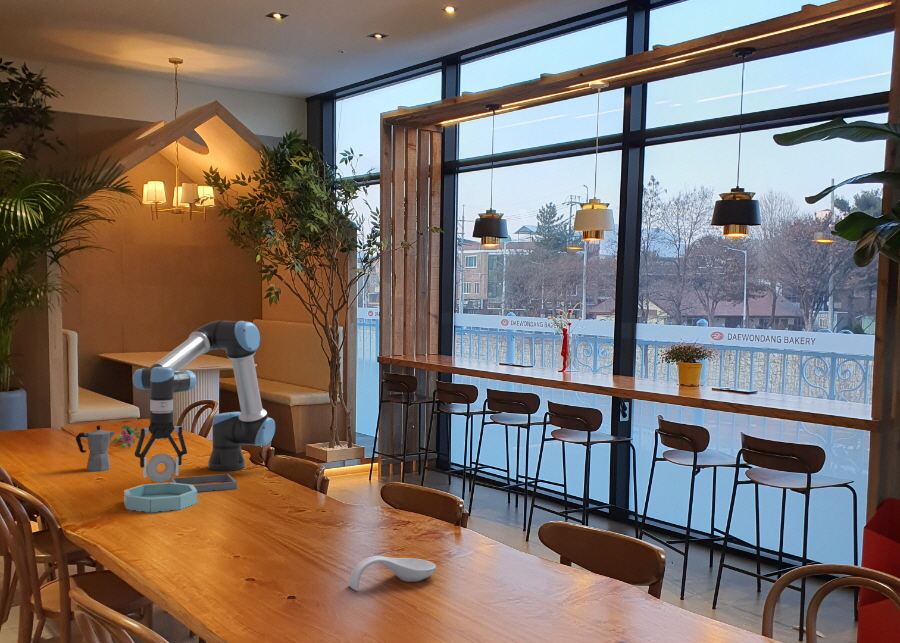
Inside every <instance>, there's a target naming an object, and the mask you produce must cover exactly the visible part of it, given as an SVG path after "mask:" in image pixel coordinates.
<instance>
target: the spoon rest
mask: <svg viewBox="0 0 900 643" xmlns="http://www.w3.org/2000/svg"><path fill="white" fill-rule="evenodd" d="M375 564H382V565H384V566H385V567H387V568H388V569H389V570H390V571H391V572H392V573H393V574H394V575H395V576H397V577H398V578H399V580H401V581H404V582H408V583H411V582H413V583H414V582H420V581H423V580H425V579H427V578H429V577H430V576H431V575H432V574H433V572H434V571H435V570H436V568H437V564H435V563H434V562H432V561H430V560H427V559H421V558H415V557H389V556H388V557H387V556H382V555H373V556H368V557H365V559H363V560H361V561H360V562H359V563H357V565H355V566H354V568H353V569H352V571H351V573H350V576H349V577H348V586H349V587H350V588H351V589H353V590H354V591H356V592H358V591H359V589H360V580H361V576H362V574H363V572H364V571H365V570H366V569H367V568H368V567H371V566H372V565H375Z"/></svg>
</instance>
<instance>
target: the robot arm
mask: <svg viewBox="0 0 900 643" xmlns="http://www.w3.org/2000/svg"><path fill="white" fill-rule="evenodd" d="M259 331H260V330H259V329H258V328H257V325H255V324H254V323H253V322H251V321H246V320H245V321H244V320H221V319H220V320H215V321H211V322H209V323H206V324H204V325H202V326H200V327H198V328H196V329H195V330H194V331H192V332H191V333H190V334H189V336H188V338H187V339H186V340H184V341H183V342H182V343H181V344H179V345H178V346H177V347H175V348H173V349H172V350H171V351H169V353H167V354H166V355H164V356H163V357H161V358H160V359H158V361H156V362H154V363H153V364H152V365H151V366H149V367H148V368H145V367H142V368H138V369H136V370H135V371H134V373H133V374H132V384H133V385H134V387H135V388H136V389H139V390H144V391H150V398H149V399H150V400H149V401H150V403H149V405H150V406H149V410H150V411H151V412H150V414H149V426H148V427H140V429H139V432H140V433H139V434H140V435H139V436H140V437H139V438H138V441H137V444H136V447H135V451H134V454H133V455H134V456H135V458H138V459H139V466H140V468H142V469H143V470H142V476H143V478H144V479H145V478H146V479H147V471H146V469H147V463H148V461H147V457H146V455H147V454H148V452H149V450H150V448H151V447H152V446H153V443H154V442H155V440H160V439H168V441H169V443H170V445H171V446H172V448H173V449H174V451H175V452H176V455H174V457H175V458H174V461H175V471H174V475H175V476H179V466H182V458H183V456H184V455H187V454H188V451H187V450H188V449H187V446H186V443H185V438H184V436H183V427H182V426H181V425H178V426H176V425H174V412H172V411H173V410H174V393H181V392H183V393H185V392H189V391H190V390H193V389H194V388H195V386H196V385H197V376H196V374H195V373H194V372H193V371H192V370H187V369H183V368H184V367H186V366H187V365H188V364H190V363H191V362H192V361H193V360H195V359H196V358H197V357H199V356H200V355H201V354H202V355H204V354H206V353H208V352H209V351H211V350H222V351H223V350H225V355H226V357H227V359H229V360H231V364H232V365H231V366H232V369H233V375H234V380H235V384H236V390H237V391H236V392H237V396H238V401H239V408H240V411H231V412H230V411H229V412H221V413H217V414H214V415H213V418H212V425H211V426H212V449H211V453H210V455H209V459H208V461H207V469H208V470H211V471H217V472H218V471H219V472H224V471H225V472H227V471H237V470H241V469H244V468H246V461H245V457H244V454H243V452H242V445H247V446H248V445H249V446H256V447H258V446H259V447H260V446H267V445H268V444H270V443H271V441H272V440H273V437H274V436H275V432H276V422H275V419H273V418H271V417H269V416H268V412H267V410H266V409H264V408H263V404H262V399H261V394H260V387H259V382H258V376H257V375H258V374H257V370H256V365H255V359H254V355H256V352H257V350H258V349H259V346H260V342H261V335H260V332H259ZM174 430H175V433H177V437H178V440H179V443H180V448H181V450H180V448H179V447H178V445H177V443H176V442H175V440H174V438H173V436H172V433H173V432H174ZM148 432H150V434H151V435H150V437H149V439H148V440H147V443H146V444H145V446H144V448H143V449H142V447H143V443H144V440H145V436H146V435H147V433H148ZM141 450H142V451H141Z"/></svg>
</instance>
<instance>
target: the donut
mask: <svg viewBox="0 0 900 643" xmlns="http://www.w3.org/2000/svg"><path fill="white" fill-rule="evenodd" d="M160 464H164V465H165V466H164V470H163V471H158V469H157V468H158V465H160ZM174 474H175V458H173V457H172V456H171V455H170V454H168V453H164V452H163V453H162V452H160V453H156V454H154V455H153V456H151V458H150V459H149V460H148V461H147V469H146V475H147V477H148V478H149V479H150V480H152V481H154V482H157V483H164V482H165V481H166V482H167V481H168V480H169V479H171V478H172V476H173V475H174Z"/></svg>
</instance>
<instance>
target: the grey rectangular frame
mask: <svg viewBox="0 0 900 643" xmlns="http://www.w3.org/2000/svg"><path fill="white" fill-rule="evenodd" d="M170 482H172V483H181V484H188V483H191V484H192V485H193V486H194V487H195V488H196V490H197V493H200V492H201V491H203V492H212V491H213V490H215V491H224V490H226V491H227V490H237V489H238V487H237V486H238V482H237V481H236V479H235V478H233V477H232V476H231V475H230V473H223V474H222V473H220V474H207V475H195V476H183V477H182V476H181V477H170ZM203 482H204V483H203ZM213 492H214V491H213ZM201 493H202V492H201Z"/></svg>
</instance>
